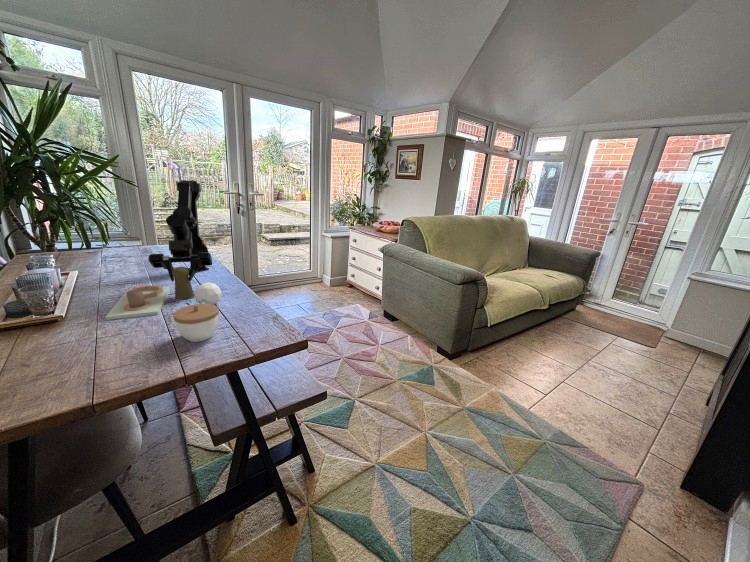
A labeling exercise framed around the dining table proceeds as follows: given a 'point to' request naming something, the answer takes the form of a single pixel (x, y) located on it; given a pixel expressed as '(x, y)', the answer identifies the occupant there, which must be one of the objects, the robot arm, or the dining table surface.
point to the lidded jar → (197, 321)
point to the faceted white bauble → (207, 293)
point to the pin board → (142, 312)
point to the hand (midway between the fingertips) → (181, 280)
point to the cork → (182, 284)
